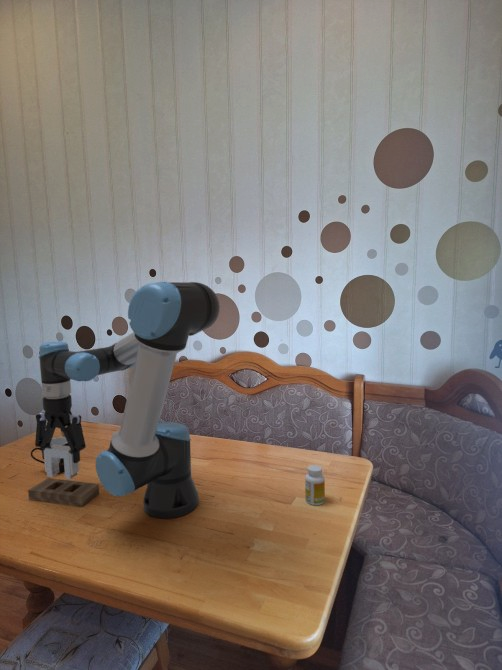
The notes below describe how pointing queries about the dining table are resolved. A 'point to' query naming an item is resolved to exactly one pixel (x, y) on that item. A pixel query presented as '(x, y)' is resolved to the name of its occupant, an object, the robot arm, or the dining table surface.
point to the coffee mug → (61, 460)
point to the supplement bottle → (315, 486)
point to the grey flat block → (64, 492)
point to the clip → (53, 462)
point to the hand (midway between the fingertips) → (62, 471)
